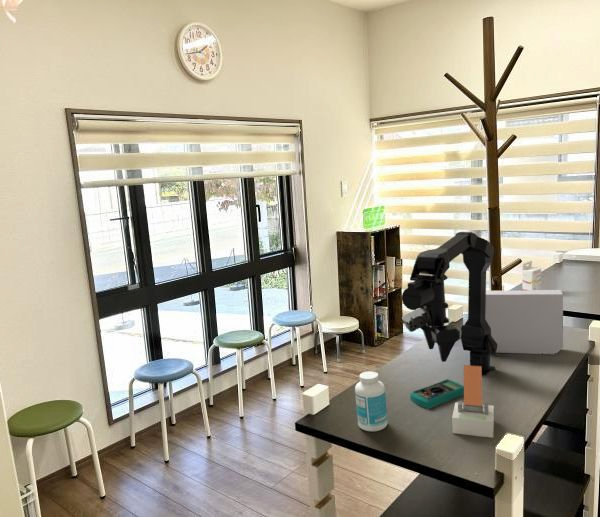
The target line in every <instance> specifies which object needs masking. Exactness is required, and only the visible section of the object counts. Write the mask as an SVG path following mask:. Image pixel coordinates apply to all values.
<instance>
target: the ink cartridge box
mask: <svg viewBox="0 0 600 517" xmlns="http://www.w3.org/2000/svg"><path fill="white" fill-rule="evenodd" d="M532 263H533V261H532V260H530V261H526V262H524V263H522V274H521V276H522V277H521V278H522V279H521V280H522V282H521V283H522V284H521V285H522V291H527V290H542V267H534V266H532Z"/></svg>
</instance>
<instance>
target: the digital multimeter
mask: <svg viewBox="0 0 600 517" xmlns="http://www.w3.org/2000/svg"><path fill="white" fill-rule="evenodd" d="M409 394H410V401H412V402H413V403H414V404H416V405H417V406H420V407H423V408H424V409H426V410H427V409H429V410H430V409H431V408H434V407H436V406H439V405H441V404H444V403H446V402H449V401H451V400H454V399H457V398H459V397H464V384H460V383H458V382H457V381H454V380H452V379H448V378H446V379H443V380H442V381H439V382H437V383H434V384H431V385H429V386H425V387H423V388H420V389H417V390H414V391H412V392H410V393H409Z"/></svg>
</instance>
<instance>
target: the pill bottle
mask: <svg viewBox="0 0 600 517" xmlns="http://www.w3.org/2000/svg"><path fill="white" fill-rule="evenodd" d="M379 378H380V377H379V373H378V372H376V371H369V370H368V371H363V372H361V373H360V374H359V382H357V383H356V384H355V387H354V393H355V403H356V415H357V416H356V417H357V424H358V427H359V428H360V429H361V430H364V431H366V432H378V431H382V430H384V429H385V428H386V427H387V425H388V424H389V423H388V408H387V399H386V398H387V397H386V396H387V394H386V386H385V384H384V383H383V382H382V381H380V380H379Z"/></svg>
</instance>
